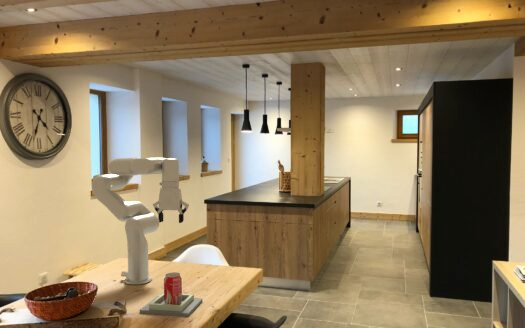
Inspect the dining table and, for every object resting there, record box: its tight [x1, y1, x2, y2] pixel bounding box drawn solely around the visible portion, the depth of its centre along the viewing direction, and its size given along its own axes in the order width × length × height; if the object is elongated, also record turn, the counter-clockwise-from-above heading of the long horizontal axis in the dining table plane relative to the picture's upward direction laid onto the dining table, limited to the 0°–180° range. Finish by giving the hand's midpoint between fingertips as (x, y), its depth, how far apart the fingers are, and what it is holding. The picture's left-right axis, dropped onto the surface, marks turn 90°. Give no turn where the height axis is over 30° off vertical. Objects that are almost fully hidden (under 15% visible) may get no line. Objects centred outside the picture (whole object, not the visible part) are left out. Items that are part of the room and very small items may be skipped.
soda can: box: [163, 271, 183, 305], centre depth 166 cm, size 7×7×12 cm
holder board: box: [139, 292, 203, 317], centre depth 166 cm, size 20×16×3 cm
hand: (171, 222), depth 190 cm, fingers open, 9 cm apart
